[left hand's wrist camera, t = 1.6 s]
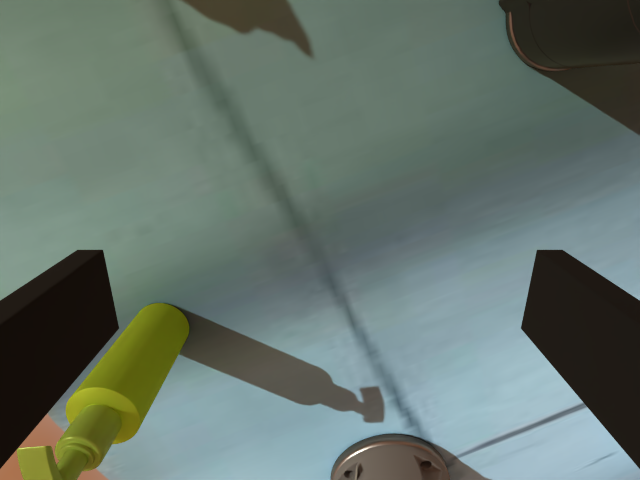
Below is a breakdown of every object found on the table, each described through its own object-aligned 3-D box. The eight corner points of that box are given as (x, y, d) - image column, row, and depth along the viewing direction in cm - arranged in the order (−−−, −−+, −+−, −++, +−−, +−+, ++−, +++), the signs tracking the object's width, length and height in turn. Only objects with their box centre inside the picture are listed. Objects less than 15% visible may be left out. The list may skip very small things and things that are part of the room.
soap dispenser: (180, 291, 43) (72, 450, 24) (194, 345, 45) (106, 528, 27) (127, 297, 43) (-22, 458, 24) (143, 350, 45) (20, 534, 27)
